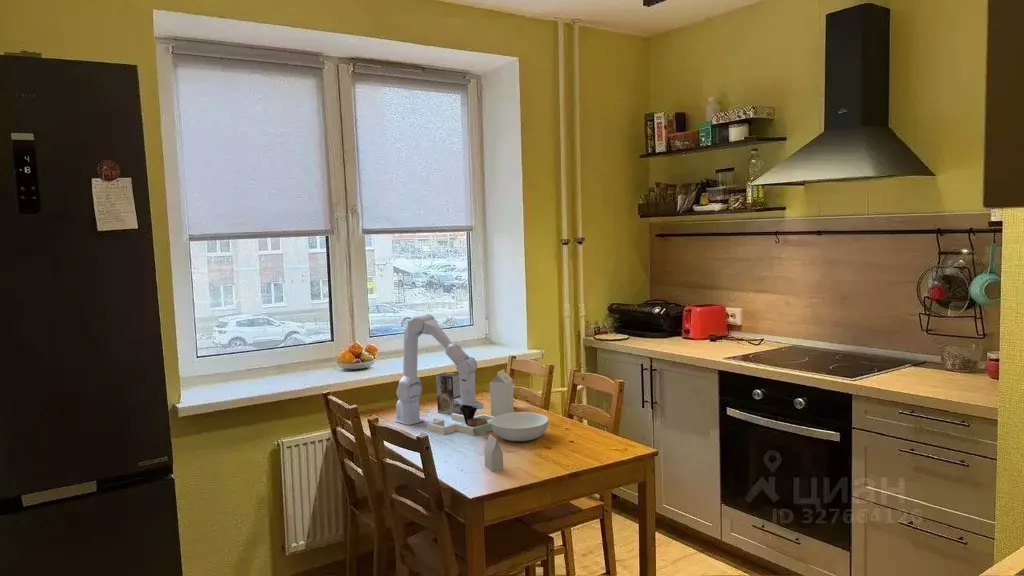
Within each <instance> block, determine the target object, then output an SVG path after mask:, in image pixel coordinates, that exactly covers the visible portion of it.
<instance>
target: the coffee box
mask: <svg viewBox="0 0 1024 576" xmlns="http://www.w3.org/2000/svg"><path fill="white" fill-rule="evenodd" d="M435 382H436V383H435V385H436V401H437V413H439V414H447V415H451V414H452V413H455V414H459V412H460V413H462V412H461V410H460V407H462V405H459V404H454V399H456V398H460V399H461V392H460V378H459V373H458V372H455V373H454V372H441V373H438V374H436V375H435Z"/></svg>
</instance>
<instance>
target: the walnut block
mask: <svg viewBox="0 0 1024 576" xmlns="http://www.w3.org/2000/svg"><path fill="white" fill-rule="evenodd" d="M467 421H468V425H467V426H470V427H477V426H480V425H484V424H487V420H485V419H481V418H473V419H469V420H467Z"/></svg>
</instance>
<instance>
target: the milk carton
mask: <svg viewBox="0 0 1024 576" xmlns="http://www.w3.org/2000/svg"><path fill="white" fill-rule="evenodd" d="M496 374H497V375H496V376H495V377H493V378H492V379H491V380H490V382H489V391H490V392H489V395H490V396H489V398H490V416H494V417H496V416H498V415H502V414H506V413H515V409H514V406H515V405H514V402H515V401H514V390H513V385H514V382H513V381H514V379H513V378H512V376H510V375H509V374H507V373H506V371H505V369H502V370H499V371H497V372H496Z"/></svg>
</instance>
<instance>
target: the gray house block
mask: <svg viewBox="0 0 1024 576" xmlns="http://www.w3.org/2000/svg"><path fill="white" fill-rule="evenodd" d="M483 451H484V466H485V468H486V469H488V470H489V471H490V472H491V473H497V472H502V471H504V453H503V450H502V448H501V446H500V444H499V441H498V439H497V438H495V437H494V436H493V435H491V434H488V438H487V441H486V443H485V445H484V449H483Z"/></svg>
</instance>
